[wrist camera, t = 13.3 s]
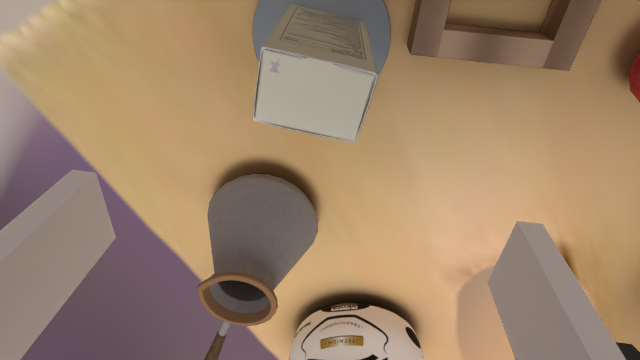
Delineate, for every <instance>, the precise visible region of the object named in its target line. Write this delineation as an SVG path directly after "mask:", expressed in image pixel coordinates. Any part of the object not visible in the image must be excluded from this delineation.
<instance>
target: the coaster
mask: <svg viewBox="0 0 640 360" xmlns="http://www.w3.org/2000/svg"><path fill="white" fill-rule="evenodd" d="M290 4H294V5H299V6H304V7H309V8H313V9H318V10H322V11H326V12H330V13H334V14H338V15H342V16H346V17H350V18H353V19H357V20H360V21H363V22H365V23H366V26H367V31H368V35H369V40H370V44H371V48H372V52H373V57H374V61H375V65H376V70H377V74H379V73H380V71H381V69H382V68H383V66H384V63H385V61H386V58H387V55H388V51H389V47H390V38H391V36H390V22H389V17H388V13H387V10H386V7H385V4H384V2H383V0H260V1H259V3H258V5H257V8H256V11H255V15H254V21H253V43H254V48H255V52H256V55H257V58H258V61H259V60H260V54H261V48H262V46H263V45H264V43H265V42H266V40H267V39H268V37H269V36H270V34H271V33H272V31H273V30H274V28H275V26H276V25H277V23H278V22H279V20H280V19H281V17H282V16H283V14H284V13H285V11H286V10H287V8H288V7H289V5H290Z"/></svg>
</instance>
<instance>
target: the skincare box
mask: <svg viewBox="0 0 640 360" xmlns="http://www.w3.org/2000/svg"><path fill="white" fill-rule="evenodd" d="M377 79H378V74H377V70H376V65H375V61H374V57H373V52H372V48H371V44H370V40H369V35H368V31H367V26H366V23H365V22H363V21H360V20H357V19H353V18H350V17H346V16H342V15H338V14H334V13H330V12H326V11H322V10H318V9H313V8H309V7H304V6H299V5H294V4H290V5H289V7H288V8H287V10H286V11H285V13H284V14H283V16H282V17H281V19H280V20H279V22H278V23H277V25H276V26H275V28H274V30H273V31H272V33H271V34H270V36H269V37H268V39H267V40H266V42H265V43H264V45H263V46H262V48H261V54H260V60H259V67H258V74H257V81H256V88H255V97H254V108H253V119H254V120H255V121H258V122H261V123H264V124H268V125H272V126H276V127H280V128H284V129H289V130H293V131H298V132H303V133H307V134H312V135H317V136H322V137H327V138H332V139H337V140H343V141H348V142H356V140H357V137H358V134H359V132H360V129H361V126H362V124H363V121H364V118H365V115H366V113H367V110H368V107H369V104H370V101H371V98H372V95H373V92H374V89H375V86H376V83H377Z"/></svg>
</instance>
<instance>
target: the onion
mask: <svg viewBox="0 0 640 360" xmlns="http://www.w3.org/2000/svg"><path fill="white" fill-rule="evenodd" d="M629 74H630V90H631V92H632V93H633V94H634V96H635V97H636V98H637V99H638V101H639V102H640V53H639V54H638V56H637V57H636V58H635V59H634V61H633V64H632V67H631V70H630V73H629Z"/></svg>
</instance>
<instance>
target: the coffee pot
mask: <svg viewBox="0 0 640 360" xmlns="http://www.w3.org/2000/svg"><path fill="white" fill-rule="evenodd" d="M208 223H209V231H210V239H211V247H212V255H213V263H214V271H215V273H214V274H213V275H212V276H211V277H210V278H208V279H206V280H205V281H203V282H202V283H201V284H200V285H199V286H197V291H198V295H199V298H200V300H201V302H202V304H203V306H204V307H205V309H207V311H208V312H209V313H211V314H212V315H213V316H215V317H216V318H218V319H220V320H222V324H221V327H220V329H219V331H218V333H217V335H216V337H215V339H214V341H213V343H212V345H211V347H210V349H209V351H208V353H207V355H206V357H205V359H204V360H218V357H219V354H220V352H221V349H222V346H223V343H224V340H225V337H226V332H227V331H228V328H229V326H230V324H235V325H242V326H252V325H258V324H261V323H264V322H266V321H268V320H269V319H271V317H272V316H273V315H274V314H275V313H276V310H277V307H278V305H277V298H276V296H275V293H274V291H273V290H274V289H275V288H276V286H277V285H278V284H279V283H280V282H281V281H282V279H283V278H284V277H285V276H286V275H287V273H288V272H289V271H290V270H291V269H292V268H293V266H294V265H295V264H296V263H297V262H298V260H299V259H300V258H301V257H302V256H303V255H304V253H305V252H306V251H307V250H308V249H309V247H310V246H311V245H312V244H313V242H314V240H315V237H316V234H317V232H318V219H317V216H316V213H315V210H314V207H313V205H312V204H311V202H310V201H309V199H308V198H307V196H306V195H305V194H304V193H303V192H302V191H301V190H300V189H299V188H298V187H296V186H295V185H294V184H292V183H290V182H288V181H286V180H284V179H282V178H279V177H275V176H272V175H268V174H250V175H245V176H240V177H238V178H236V179H234V180H232V181H230V182H227V183H225V184H224V185H223V186H222V187H221V188H220V189H219V190H217V191H216V192H215V194H214V195H213V197H212V199H211V201H210V203H209V209H208Z"/></svg>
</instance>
